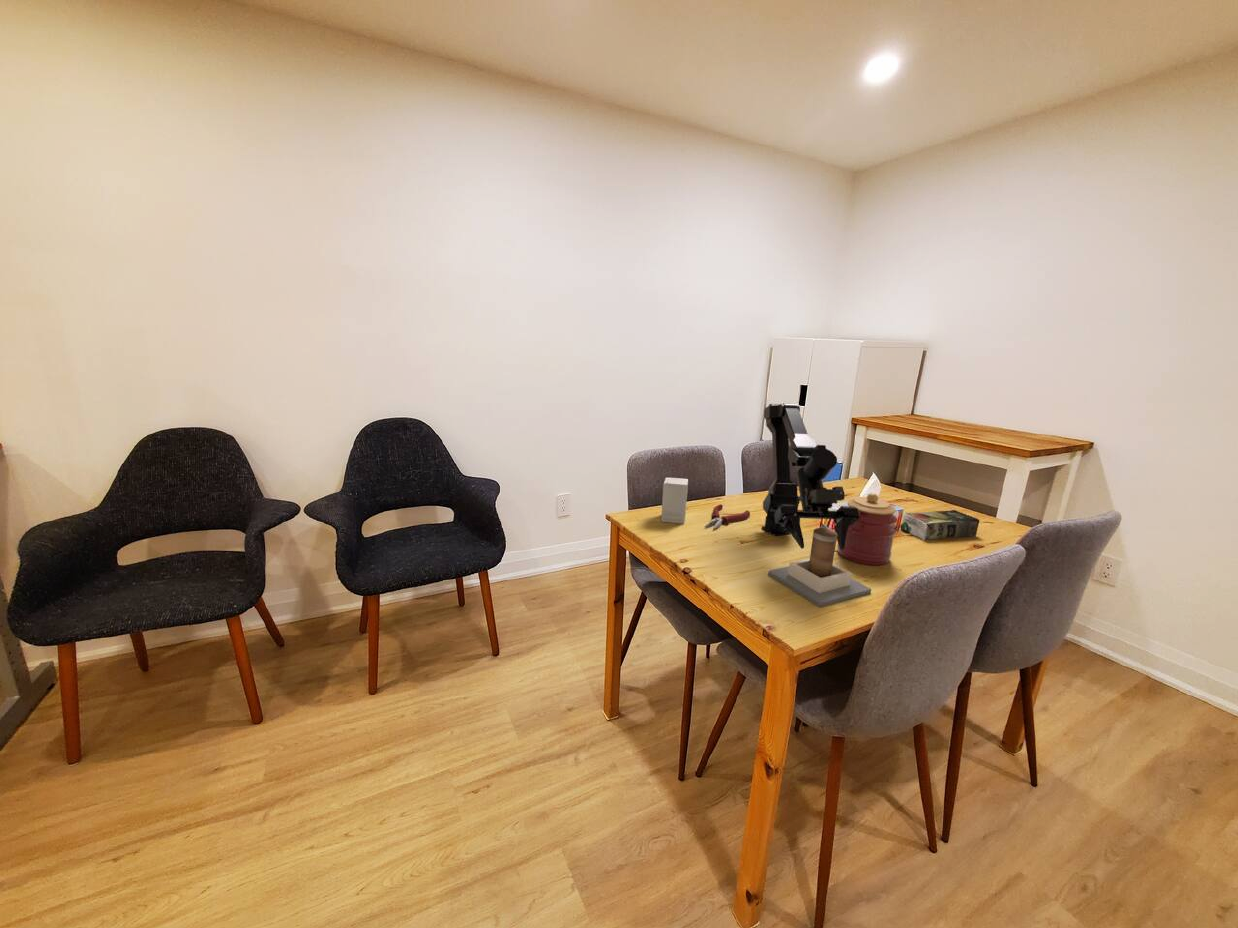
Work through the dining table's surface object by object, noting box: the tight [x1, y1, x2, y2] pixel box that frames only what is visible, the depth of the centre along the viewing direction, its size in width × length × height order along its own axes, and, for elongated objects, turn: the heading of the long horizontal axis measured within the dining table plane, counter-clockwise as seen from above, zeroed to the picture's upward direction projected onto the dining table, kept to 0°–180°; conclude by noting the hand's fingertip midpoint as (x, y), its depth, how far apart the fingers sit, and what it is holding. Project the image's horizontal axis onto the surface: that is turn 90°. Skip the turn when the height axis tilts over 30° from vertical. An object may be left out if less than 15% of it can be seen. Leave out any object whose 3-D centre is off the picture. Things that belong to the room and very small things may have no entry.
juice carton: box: [899, 509, 981, 541], centre depth 148 cm, size 20×10×6 cm, turn 103°
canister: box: [837, 492, 899, 566], centre depth 129 cm, size 13×13×18 cm
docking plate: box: [767, 558, 872, 608], centre depth 114 cm, size 16×16×4 cm
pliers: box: [704, 503, 751, 530], centre depth 153 cm, size 12×20×3 cm, turn 145°
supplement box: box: [660, 477, 689, 525], centre depth 152 cm, size 7×7×13 cm
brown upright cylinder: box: [808, 527, 837, 578], centre depth 113 cm, size 5×5×12 cm
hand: (822, 548), depth 113 cm, fingers open, 9 cm apart
